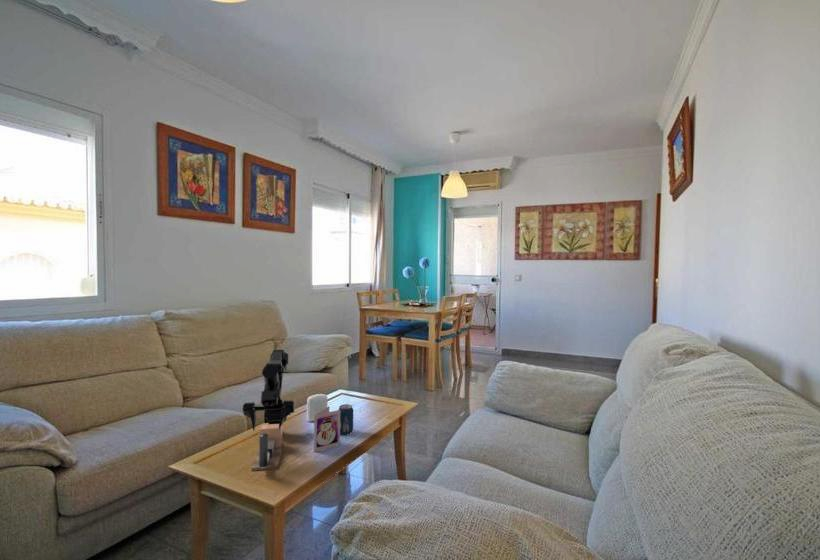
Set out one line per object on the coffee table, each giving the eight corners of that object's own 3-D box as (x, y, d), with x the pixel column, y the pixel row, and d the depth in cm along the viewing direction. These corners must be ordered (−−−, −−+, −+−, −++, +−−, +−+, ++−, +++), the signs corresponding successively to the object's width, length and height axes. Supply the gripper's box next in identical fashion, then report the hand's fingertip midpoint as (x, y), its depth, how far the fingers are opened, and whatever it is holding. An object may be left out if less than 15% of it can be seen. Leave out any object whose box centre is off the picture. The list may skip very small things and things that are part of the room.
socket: (261, 443, 157) (262, 424, 157) (282, 442, 159) (282, 423, 159) (260, 448, 153) (260, 429, 153) (280, 447, 154) (281, 427, 154)
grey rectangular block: (264, 449, 152) (264, 439, 152) (275, 448, 153) (275, 438, 153) (261, 459, 144) (261, 448, 144) (272, 458, 145) (273, 447, 145)
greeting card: (314, 452, 152) (315, 415, 152) (307, 445, 158) (308, 410, 158) (340, 445, 159) (341, 410, 159) (333, 439, 165) (333, 405, 165)
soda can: (346, 428, 177) (347, 402, 177) (356, 432, 172) (356, 406, 172) (334, 432, 172) (335, 406, 172) (343, 437, 167) (344, 410, 167)
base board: (260, 445, 157) (260, 443, 157) (283, 444, 159) (283, 441, 159) (251, 470, 138) (251, 467, 138) (277, 468, 140) (277, 465, 140)
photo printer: (325, 415, 192) (325, 391, 191) (328, 418, 188) (328, 394, 188) (305, 420, 186) (305, 395, 186) (308, 423, 182) (308, 397, 182)
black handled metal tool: (265, 449, 150) (266, 419, 150) (273, 449, 151) (273, 418, 151) (258, 470, 134) (258, 437, 134) (266, 470, 135) (267, 436, 135)
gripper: (243, 382, 146) (236, 421, 135) (294, 380, 150) (291, 418, 139) (247, 396, 153) (241, 434, 143) (295, 393, 157) (292, 430, 147)
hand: (266, 429), depth 143 cm, fingers open, 9 cm apart
